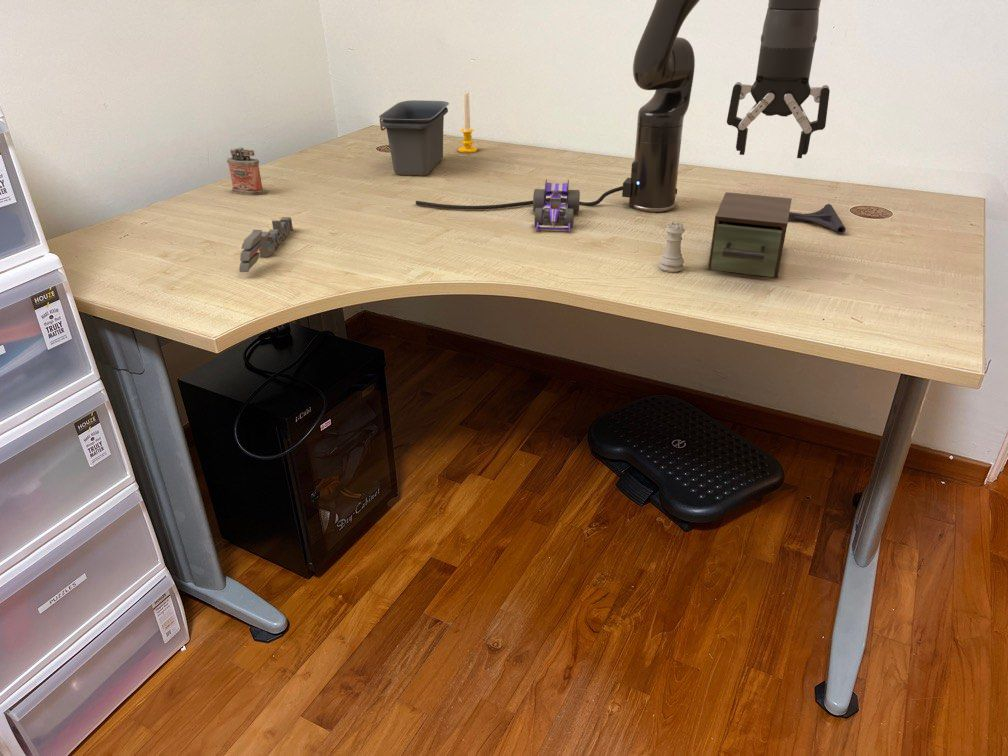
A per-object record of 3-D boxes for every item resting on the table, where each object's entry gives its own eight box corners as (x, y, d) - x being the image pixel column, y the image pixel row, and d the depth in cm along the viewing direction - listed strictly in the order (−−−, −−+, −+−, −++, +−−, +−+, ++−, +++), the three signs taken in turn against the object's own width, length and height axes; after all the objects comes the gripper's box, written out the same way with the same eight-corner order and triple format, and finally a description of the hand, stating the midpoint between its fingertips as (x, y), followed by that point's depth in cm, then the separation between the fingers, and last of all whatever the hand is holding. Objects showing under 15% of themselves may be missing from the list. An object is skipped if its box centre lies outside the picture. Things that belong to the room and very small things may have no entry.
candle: (456, 152, 206) (454, 92, 198) (460, 148, 210) (458, 88, 203) (475, 153, 205) (473, 92, 197) (479, 148, 210) (477, 88, 202)
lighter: (229, 192, 176) (221, 148, 171) (239, 188, 179) (231, 145, 174) (258, 195, 174) (250, 151, 168) (267, 191, 176) (259, 148, 171)
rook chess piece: (655, 264, 136) (659, 220, 132) (679, 263, 136) (684, 219, 132) (661, 273, 132) (666, 229, 128) (687, 272, 132) (692, 228, 128)
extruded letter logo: (249, 278, 132) (243, 247, 129) (240, 278, 132) (234, 247, 129) (293, 229, 153) (288, 202, 150) (285, 229, 153) (281, 202, 150)
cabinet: (777, 278, 130) (787, 223, 125) (708, 269, 133) (715, 216, 128) (782, 249, 141) (791, 198, 137) (718, 241, 145) (725, 192, 140)
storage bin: (434, 179, 183) (430, 118, 176) (372, 177, 186) (366, 116, 179) (454, 157, 201) (452, 101, 194) (398, 155, 204) (393, 99, 197)
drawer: (771, 288, 124) (779, 242, 120) (706, 280, 127) (712, 235, 123) (778, 250, 138) (786, 208, 135) (720, 243, 142) (726, 202, 138)
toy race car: (528, 232, 151) (529, 199, 147) (534, 208, 164) (534, 178, 160) (577, 233, 150) (578, 200, 147) (579, 209, 163) (580, 179, 159)
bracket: (757, 208, 162) (759, 195, 161) (831, 211, 160) (833, 198, 158) (764, 231, 150) (767, 217, 149) (844, 235, 148) (847, 221, 146)
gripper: (839, 40, 112) (818, 153, 120) (739, 38, 116) (725, 147, 124) (841, 46, 106) (818, 164, 114) (735, 44, 110) (720, 158, 118)
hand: (770, 155), depth 119 cm, fingers open, 8 cm apart
